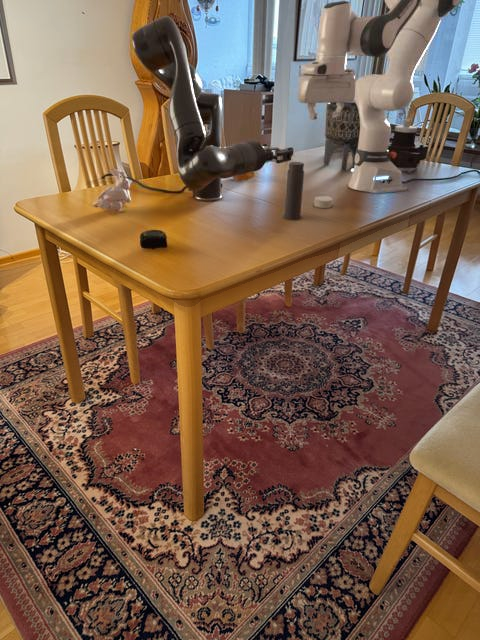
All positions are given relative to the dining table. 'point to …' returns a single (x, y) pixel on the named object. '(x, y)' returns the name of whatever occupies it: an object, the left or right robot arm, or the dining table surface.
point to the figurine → (115, 193)
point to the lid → (323, 202)
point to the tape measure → (153, 239)
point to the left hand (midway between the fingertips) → (278, 149)
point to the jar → (294, 190)
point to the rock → (340, 150)
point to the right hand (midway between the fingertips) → (324, 118)
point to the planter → (342, 132)
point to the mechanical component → (407, 148)
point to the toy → (245, 176)
